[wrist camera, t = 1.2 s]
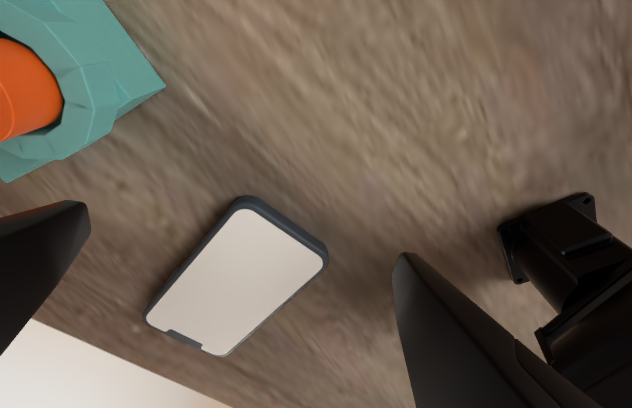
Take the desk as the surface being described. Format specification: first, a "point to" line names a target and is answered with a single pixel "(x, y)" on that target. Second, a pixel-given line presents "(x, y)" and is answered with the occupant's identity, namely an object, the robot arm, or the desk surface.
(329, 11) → the desk surface
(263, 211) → the phone case
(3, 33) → the cap block
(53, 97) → the orange short cylinder
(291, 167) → the desk surface
